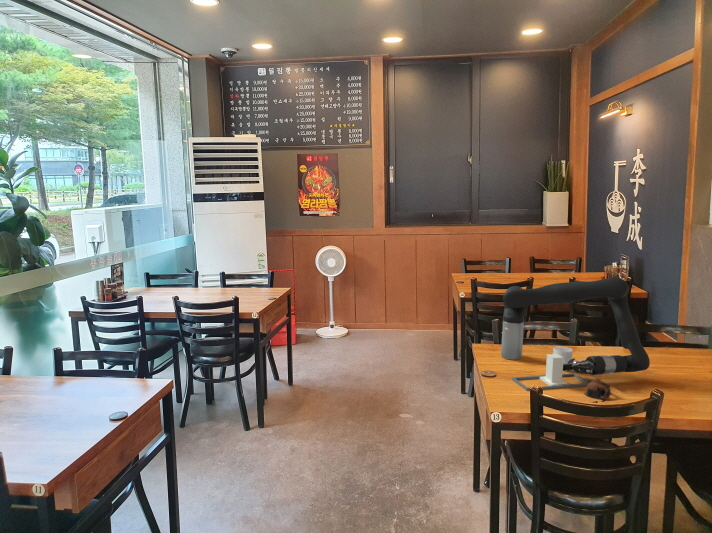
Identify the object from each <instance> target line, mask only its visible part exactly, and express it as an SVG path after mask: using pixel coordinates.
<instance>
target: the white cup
mask: <svg viewBox="0 0 712 533" xmlns="http://www.w3.org/2000/svg"><path fill="white" fill-rule="evenodd" d="M573 351H574V350H573V348H571V347H567V346H554V347H553V348H552V354H558V355H560V356H562V357H564V359H563V364H568V361H570V360H571V359H573ZM566 371H567V372H568V371H569V370H566ZM566 371H565V372H566Z"/></svg>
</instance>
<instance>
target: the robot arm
mask: <svg viewBox="0 0 712 533" xmlns="http://www.w3.org/2000/svg"><path fill="white" fill-rule="evenodd" d="M628 292H629V285H628V282H627V281H626V280H625V279H623V278H622V277H617V276H614V277H607V278H602V279H598V280H591V281H590V280H589V281H569V282H568V281H567V282H557V283H551V284H546V285H543V286H540V287H536V288H522V287H520V286H519V285H512V286H510V287H508V288H507V289H506V291H505V292H504V293H503V296H502V297H503V298H502V300H503V304H504V306H503V307H504V309H503V315H502V335H501V347H500V348H501V351H500V353H501V356H500V357H502V358H503V359H507V360H513V361H514V360H518V361H519V360H521V359H522V357H523V343H524V342H523V340H524V324H525V322H524V320H525V315H526V314H525V313H526V307H528V306H536V305H537V306H538V305H561V304H563V305H564V304H572V303H578V302H582V301H585V300H590V299H598V298H599V299H600V298H601V299H604V298H605V299H606V298H607V299H608V301H609V304H610V306H611V309H612V311H613V315H614V318H615V322H616V328H617V331H618V336H619V339H620V344H621V346H622V348H623V349H626V350H628V351H629V352H630V354H627V355H618V354H617V355H616V354H613V355H604V354H603V355H590V356H587V357H586V358H585V360H584V359H579V360H576V359H575V358H573V357H572V359H571V360H570V361H568V364H563V372H566V370H568V371H571V372H574V373H580V374H586V375H591V376H599V375H609V374H616V373H617V374H618V373H636V372H637V373H638V372H641V371H646V370H648V368H650V366H651V360H650V357H649V354H648V353H647V351H646V350H645V347H644V346H643V344H642V343H641V340H640V336H639V334H638V329H637V326H636V323H635V321H634V319H633V317H632V316H633V315H632V313H631V310H630V306H629V301H628V300H629V299H628Z"/></svg>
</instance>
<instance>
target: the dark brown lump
mask: <svg viewBox="0 0 712 533" xmlns="http://www.w3.org/2000/svg"><path fill="white" fill-rule="evenodd" d="M585 387H587V389H586V391H587V392H584V393H583V395H584V396H586V397H587V398H591V399H594V400H599V401H600V400H601V401H606V400H607V399H609V398H610V396H611V394H612V393H611V385H610V384H608V383H606V382H604V381H601V380H597V379H593V378H590V379H589V382H588V383H587V384H586V386H585ZM594 403H596V404H598V401H594Z"/></svg>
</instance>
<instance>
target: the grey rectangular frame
mask: <svg viewBox="0 0 712 533" xmlns="http://www.w3.org/2000/svg"><path fill="white" fill-rule="evenodd" d="M542 376H546V374H541V375H529V376H528V375H527V376H525V375H524V376H514V377H513V376H511V380H512V382H514V383H515V384H517V385H518V386H519V387H521V388H522V389H524V390H525V391H527V392H528V391H529V390H530V388H531V387H532V386H529V387H528V386H526V385H525V384H523V383H522V382H521V381H522V380H523V381H524V380H534V379H535V380H536V379H537V380H538V379H539V380H540V377H542ZM564 377H565V378H567V377H573V378H574V377H575V378H576V379H578V380H580V381H581V382H583V383H571V384H570V383H568V385H555V386H549V385H543V386H540V387H542V388H543V391H545V390H554V389H557V390H558V389H566V388H567V389H570V388H580V387H581V388H582V387H583V388H584V387H587V386H586V384H587V383H588V382H590V380H589V381H588V380H587V379H586V378H583V377H581V376H580V375H579V374H577V373H576V372H571V373H569V372H568V373H563V374H562V378H564ZM530 391H531V390H530Z"/></svg>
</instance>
